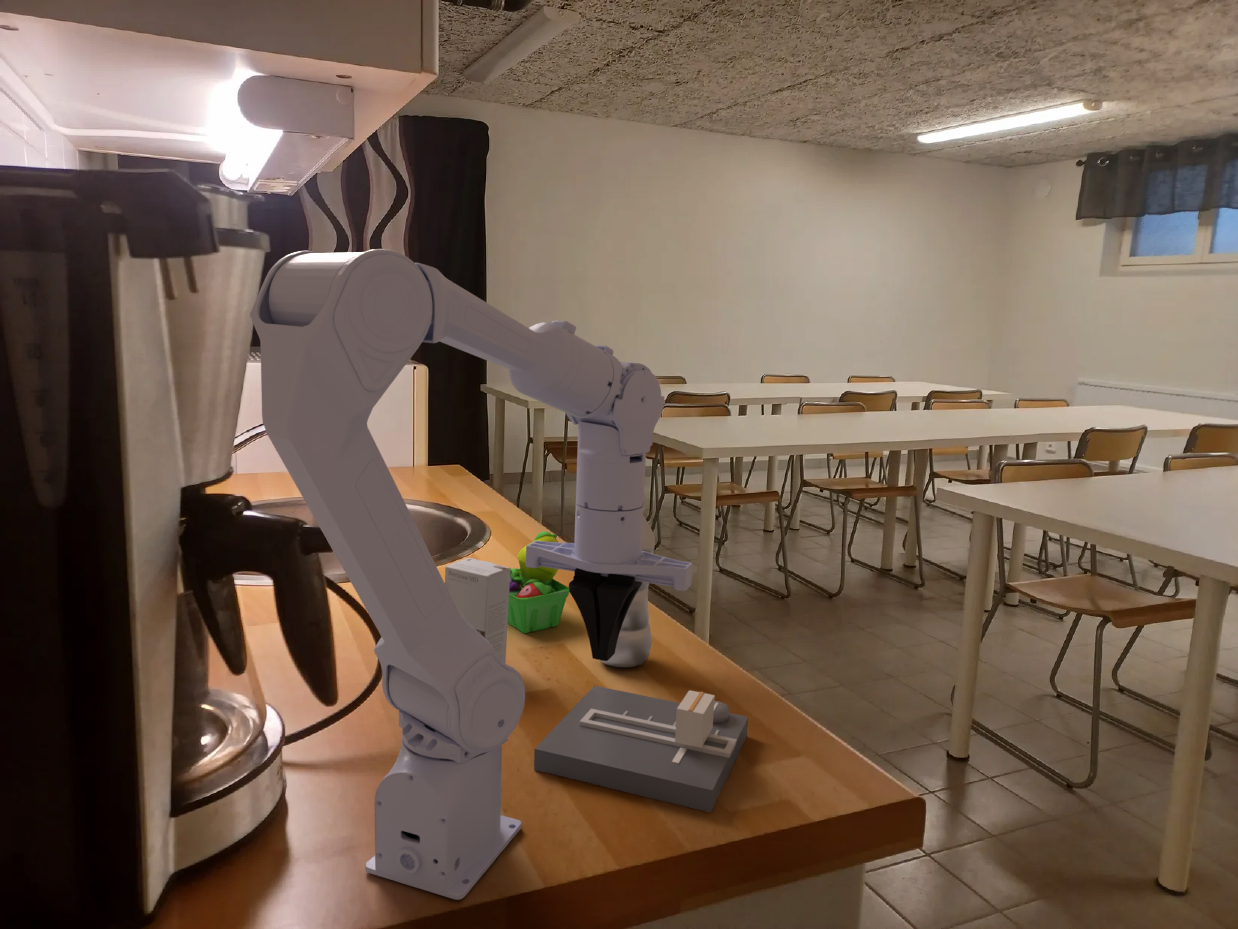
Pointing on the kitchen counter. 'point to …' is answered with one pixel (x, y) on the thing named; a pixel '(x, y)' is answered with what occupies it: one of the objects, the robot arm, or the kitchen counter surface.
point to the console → (642, 748)
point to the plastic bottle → (636, 619)
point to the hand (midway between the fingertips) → (603, 655)
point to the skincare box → (482, 598)
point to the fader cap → (694, 718)
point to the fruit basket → (535, 594)
